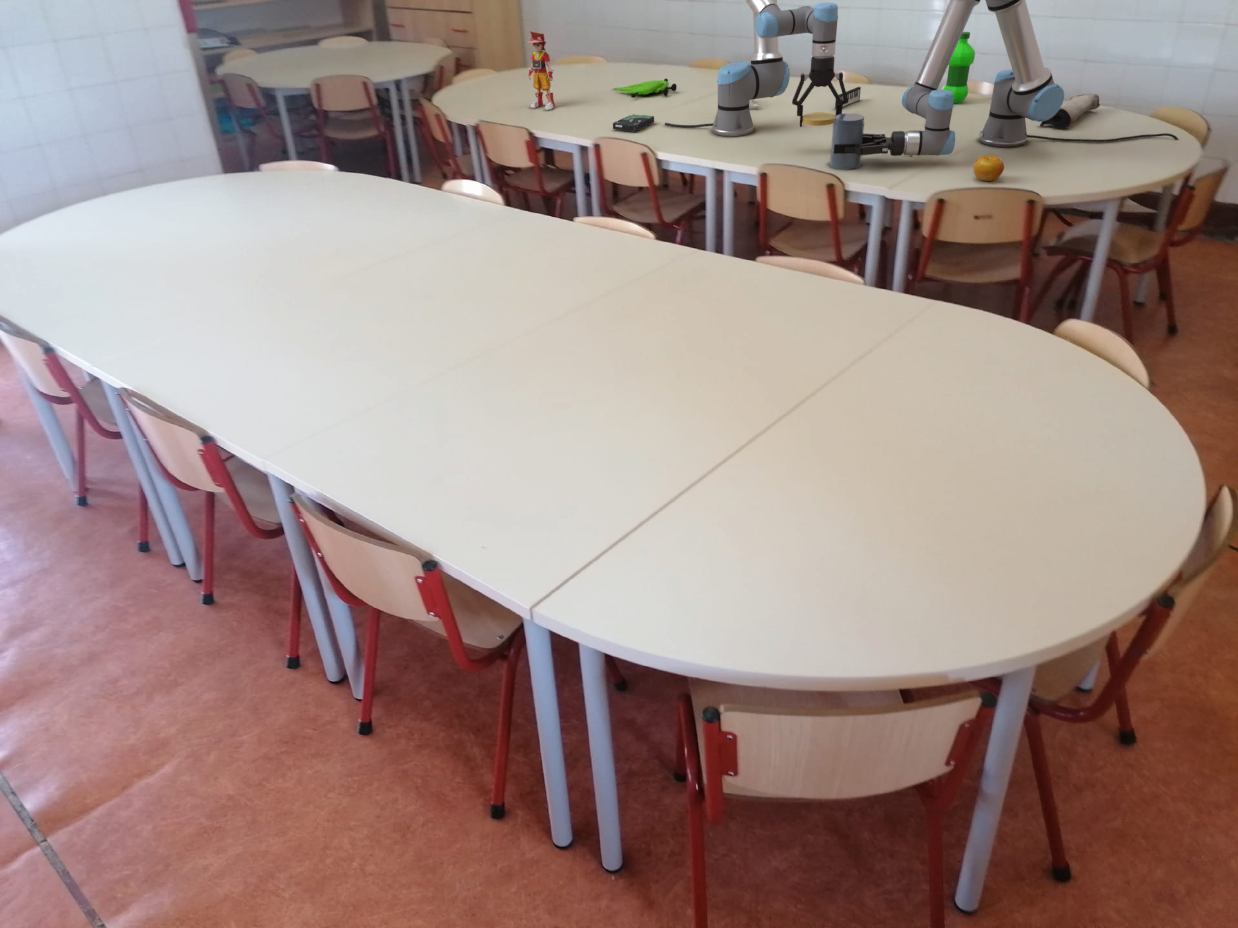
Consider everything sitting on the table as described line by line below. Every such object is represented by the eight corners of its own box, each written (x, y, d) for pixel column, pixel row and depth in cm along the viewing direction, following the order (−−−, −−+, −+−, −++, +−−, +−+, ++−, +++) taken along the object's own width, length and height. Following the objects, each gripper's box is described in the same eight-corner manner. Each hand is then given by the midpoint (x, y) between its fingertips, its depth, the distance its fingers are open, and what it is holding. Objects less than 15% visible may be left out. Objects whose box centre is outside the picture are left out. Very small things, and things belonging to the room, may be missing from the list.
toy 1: (525, 109, 381) (517, 32, 364) (534, 104, 388) (527, 28, 371) (550, 110, 377) (543, 32, 360) (559, 105, 384) (553, 28, 367)
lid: (841, 119, 305) (842, 114, 304) (824, 127, 298) (824, 122, 297) (813, 116, 312) (813, 111, 311) (795, 123, 305) (795, 118, 304)
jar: (836, 170, 291) (841, 122, 283) (825, 162, 299) (828, 115, 291) (865, 167, 293) (870, 119, 284) (852, 159, 301) (857, 112, 292)
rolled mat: (1067, 99, 337) (1091, 81, 329) (1080, 119, 338) (1105, 102, 330) (1036, 120, 320) (1061, 102, 312) (1050, 141, 321) (1075, 124, 312)
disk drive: (635, 133, 342) (654, 123, 352) (635, 125, 340) (654, 115, 350) (612, 130, 346) (632, 120, 356) (612, 123, 345) (631, 113, 355)
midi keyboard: (837, 109, 354) (838, 96, 352) (834, 109, 355) (835, 95, 352) (859, 100, 365) (861, 87, 362) (857, 99, 366) (858, 86, 363)
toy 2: (686, 85, 398) (631, 84, 414) (685, 72, 395) (629, 72, 411) (651, 104, 381) (596, 103, 397) (650, 92, 378) (594, 91, 394)
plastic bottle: (973, 101, 354) (984, 32, 339) (955, 106, 349) (966, 36, 335) (952, 97, 361) (962, 29, 346) (934, 102, 356) (944, 33, 342)
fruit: (968, 171, 273) (986, 147, 270) (968, 173, 280) (985, 150, 277) (991, 186, 271) (1009, 163, 268) (990, 188, 279) (1008, 165, 276)
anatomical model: (725, 81, 368) (749, 74, 367) (729, 106, 374) (753, 100, 373) (732, 89, 356) (756, 82, 355) (736, 115, 362) (760, 109, 361)
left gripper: (786, 59, 292) (783, 129, 304) (860, 57, 288) (854, 127, 301) (786, 55, 298) (783, 123, 311) (859, 53, 295) (853, 122, 307)
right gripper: (906, 165, 283) (834, 166, 286) (898, 145, 301) (830, 146, 304) (909, 141, 278) (836, 142, 282) (901, 122, 297) (832, 123, 300)
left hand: (818, 125), depth 306 cm, fingers closed on lid, 11 cm apart
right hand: (833, 144), depth 293 cm, fingers closed on jar, 10 cm apart
